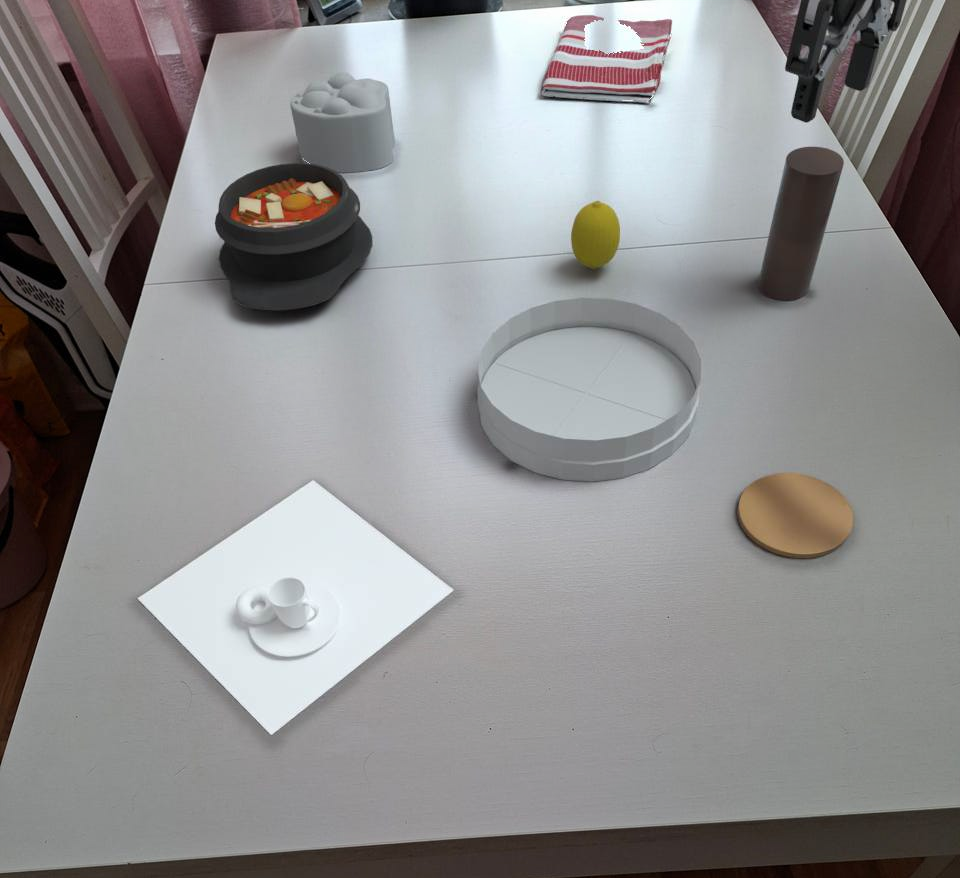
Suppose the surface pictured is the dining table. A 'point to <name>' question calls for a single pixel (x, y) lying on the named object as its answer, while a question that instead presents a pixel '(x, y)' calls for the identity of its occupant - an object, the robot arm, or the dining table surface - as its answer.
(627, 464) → the dish
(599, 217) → the lemon
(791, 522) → the coaster
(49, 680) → the dining table surface
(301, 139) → the lumpy-topped squat cylinder
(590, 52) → the dish towel
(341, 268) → the casserole
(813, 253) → the brown cylinder
